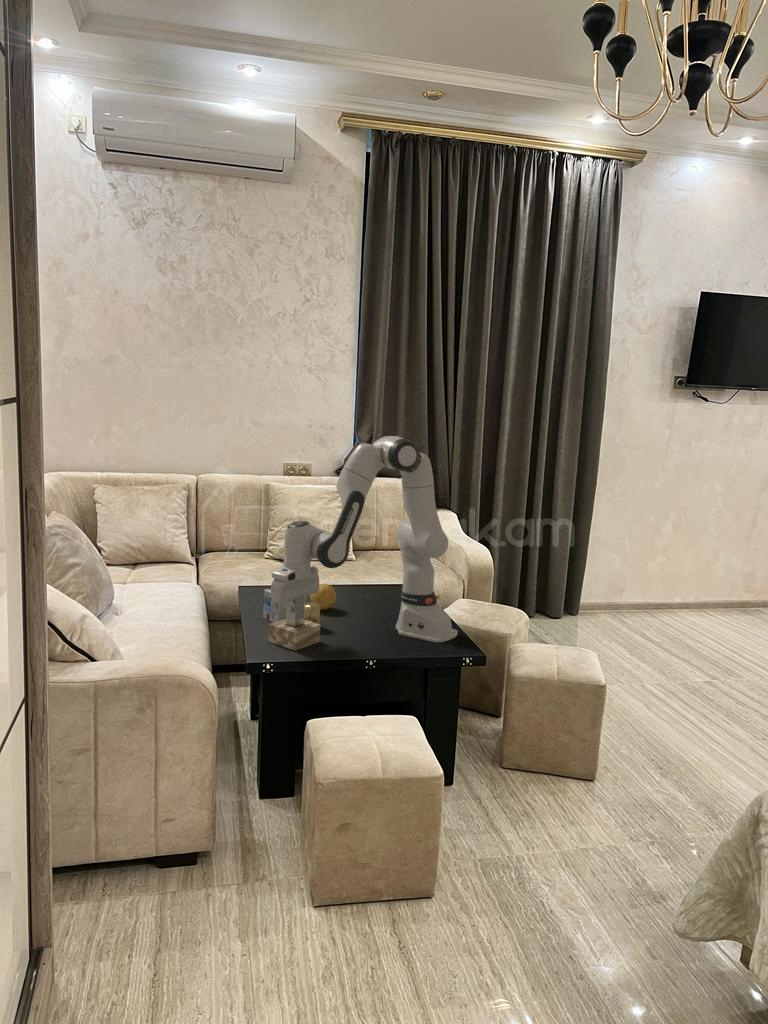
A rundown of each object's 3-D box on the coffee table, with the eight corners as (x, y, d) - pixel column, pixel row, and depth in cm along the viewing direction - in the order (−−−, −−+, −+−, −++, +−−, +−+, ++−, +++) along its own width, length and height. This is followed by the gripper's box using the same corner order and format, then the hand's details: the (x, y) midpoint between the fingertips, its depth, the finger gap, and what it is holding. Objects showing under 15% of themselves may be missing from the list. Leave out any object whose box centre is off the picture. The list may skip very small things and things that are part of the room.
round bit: (322, 626, 270) (323, 605, 269) (311, 630, 265) (312, 608, 264) (310, 622, 273) (310, 601, 272) (298, 626, 269) (299, 605, 267)
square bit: (303, 623, 253) (304, 595, 251) (294, 626, 250) (296, 597, 248) (294, 621, 256) (295, 592, 254) (286, 623, 252) (287, 594, 251)
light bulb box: (262, 617, 276) (263, 589, 274) (278, 614, 281) (279, 586, 279) (278, 626, 268) (279, 596, 266) (294, 622, 273) (295, 594, 271)
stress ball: (307, 610, 291) (307, 600, 282) (313, 587, 295) (314, 576, 287) (332, 616, 290) (333, 606, 282) (338, 593, 295) (339, 582, 287)
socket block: (319, 641, 255) (320, 624, 254) (295, 650, 246) (295, 633, 245) (293, 632, 262) (294, 616, 261) (268, 641, 253) (269, 624, 252)
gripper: (310, 563, 260) (309, 602, 262) (268, 573, 243) (266, 615, 246) (324, 566, 256) (322, 606, 258) (282, 577, 240) (280, 619, 242)
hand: (295, 610), depth 252 cm, fingers closed on square bit, 4 cm apart
